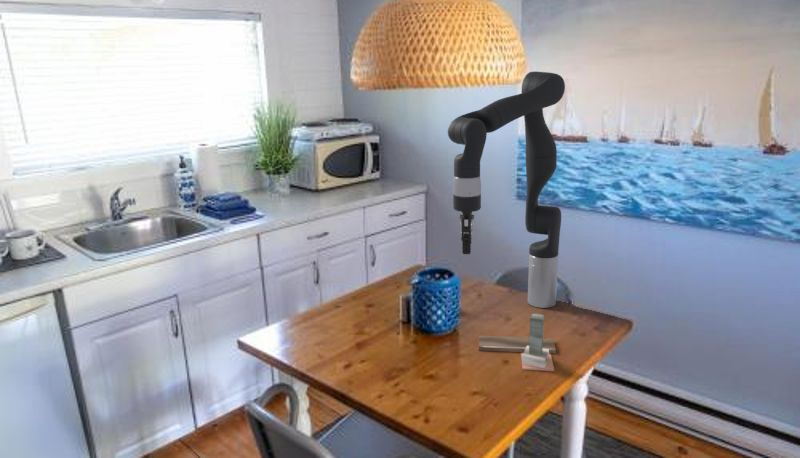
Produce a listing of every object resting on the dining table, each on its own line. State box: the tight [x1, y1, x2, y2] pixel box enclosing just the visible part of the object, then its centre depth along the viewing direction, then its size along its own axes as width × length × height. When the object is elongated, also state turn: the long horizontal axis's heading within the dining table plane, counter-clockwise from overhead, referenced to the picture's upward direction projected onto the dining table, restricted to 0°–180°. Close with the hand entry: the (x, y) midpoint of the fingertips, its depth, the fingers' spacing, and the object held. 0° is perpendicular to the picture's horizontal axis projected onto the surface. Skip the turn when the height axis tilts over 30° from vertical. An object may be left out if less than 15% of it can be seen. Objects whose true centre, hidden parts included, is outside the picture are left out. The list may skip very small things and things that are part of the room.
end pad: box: [520, 352, 555, 372], centre depth 153 cm, size 8×8×1 cm
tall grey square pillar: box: [521, 313, 550, 368], centre depth 151 cm, size 6×6×13 cm
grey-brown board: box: [478, 335, 556, 354], centre depth 162 cm, size 7×21×1 cm, turn 82°
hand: (467, 248), depth 159 cm, fingers open, 8 cm apart
